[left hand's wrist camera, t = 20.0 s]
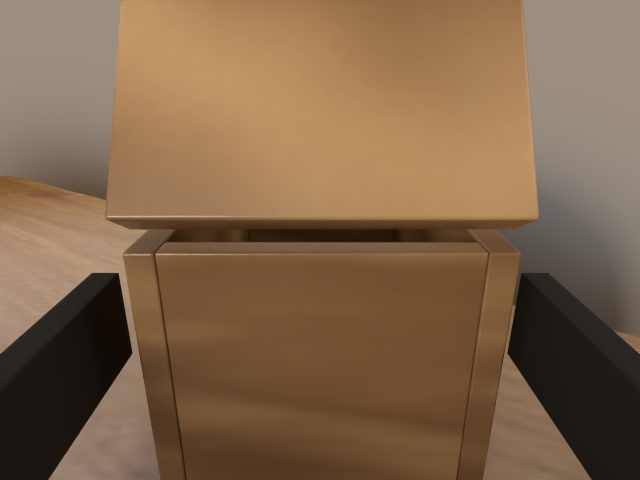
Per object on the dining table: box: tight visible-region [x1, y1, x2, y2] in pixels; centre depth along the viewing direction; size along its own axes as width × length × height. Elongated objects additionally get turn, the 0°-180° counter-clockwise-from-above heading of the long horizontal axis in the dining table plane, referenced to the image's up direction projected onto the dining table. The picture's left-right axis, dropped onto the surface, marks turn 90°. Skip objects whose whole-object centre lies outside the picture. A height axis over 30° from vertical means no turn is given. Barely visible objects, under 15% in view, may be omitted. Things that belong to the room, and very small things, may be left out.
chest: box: [123, 229, 521, 480], centre depth 18 cm, size 13×9×9 cm
